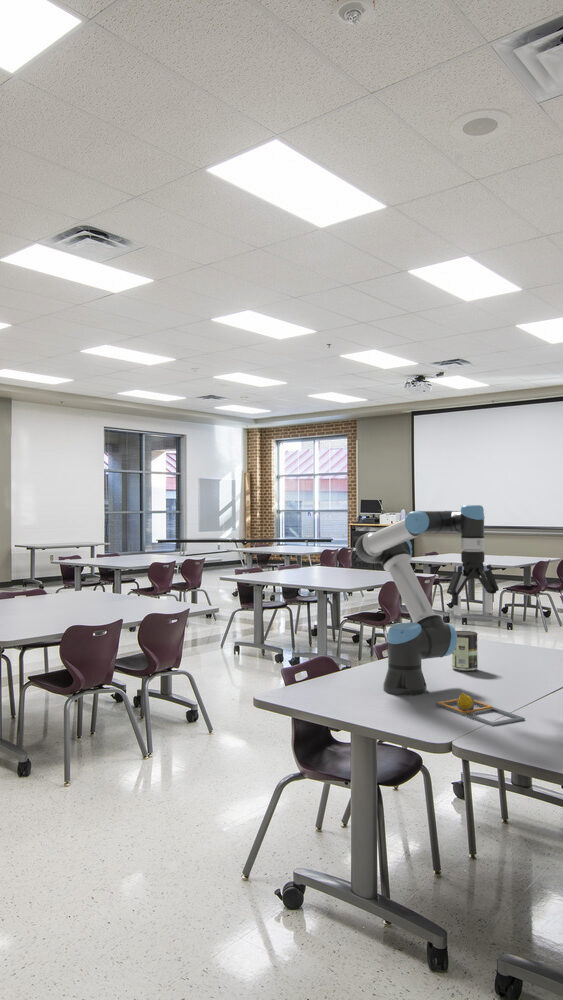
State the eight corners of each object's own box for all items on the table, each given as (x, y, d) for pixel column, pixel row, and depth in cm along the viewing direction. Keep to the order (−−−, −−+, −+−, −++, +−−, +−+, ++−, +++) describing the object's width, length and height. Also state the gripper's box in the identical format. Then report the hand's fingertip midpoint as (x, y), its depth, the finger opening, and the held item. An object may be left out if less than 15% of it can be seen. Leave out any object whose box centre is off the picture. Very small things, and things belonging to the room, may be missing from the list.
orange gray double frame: (436, 706, 219) (436, 702, 219) (466, 700, 225) (466, 696, 225) (492, 727, 197) (492, 723, 197) (524, 721, 203) (524, 717, 203)
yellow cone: (462, 697, 219) (457, 682, 212) (478, 703, 216) (473, 688, 209) (455, 712, 216) (450, 696, 210) (471, 718, 213) (466, 703, 207)
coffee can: (474, 664, 278) (473, 630, 278) (480, 670, 268) (480, 634, 268) (448, 664, 278) (448, 630, 278) (454, 670, 268) (454, 634, 268)
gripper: (450, 552, 220) (451, 618, 219) (509, 550, 230) (509, 612, 230) (435, 551, 226) (436, 614, 226) (493, 549, 237) (494, 609, 237)
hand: (473, 613), depth 228 cm, fingers open, 13 cm apart
